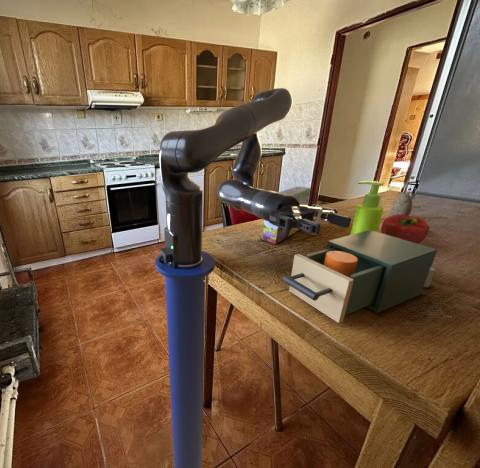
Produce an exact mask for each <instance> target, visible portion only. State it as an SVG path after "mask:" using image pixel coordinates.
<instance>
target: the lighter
mask: <svg viewBox="0 0 480 468" xmlns="http://www.w3.org/2000/svg"><path fill="white" fill-rule="evenodd" d="M435 273H436V269H435V268H433V267H431V268H430V271H429V273H428V276H427V278H426V281H425V284H424V286H423V288H429V287H430V285H431V283H432V280H433V278H434V275H435Z"/></svg>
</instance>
